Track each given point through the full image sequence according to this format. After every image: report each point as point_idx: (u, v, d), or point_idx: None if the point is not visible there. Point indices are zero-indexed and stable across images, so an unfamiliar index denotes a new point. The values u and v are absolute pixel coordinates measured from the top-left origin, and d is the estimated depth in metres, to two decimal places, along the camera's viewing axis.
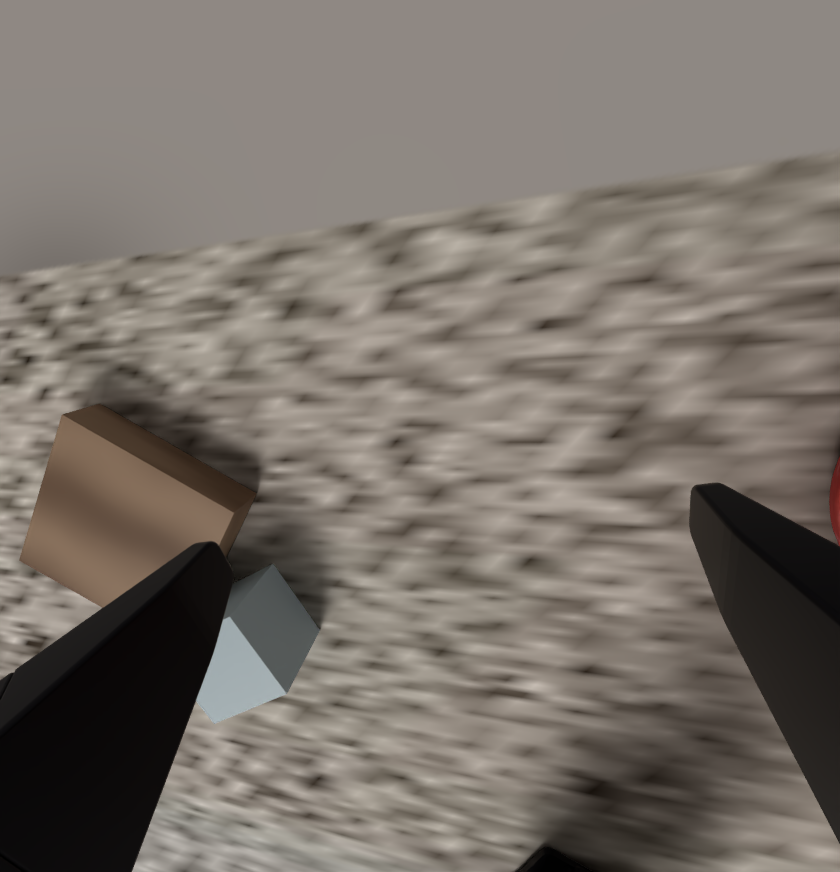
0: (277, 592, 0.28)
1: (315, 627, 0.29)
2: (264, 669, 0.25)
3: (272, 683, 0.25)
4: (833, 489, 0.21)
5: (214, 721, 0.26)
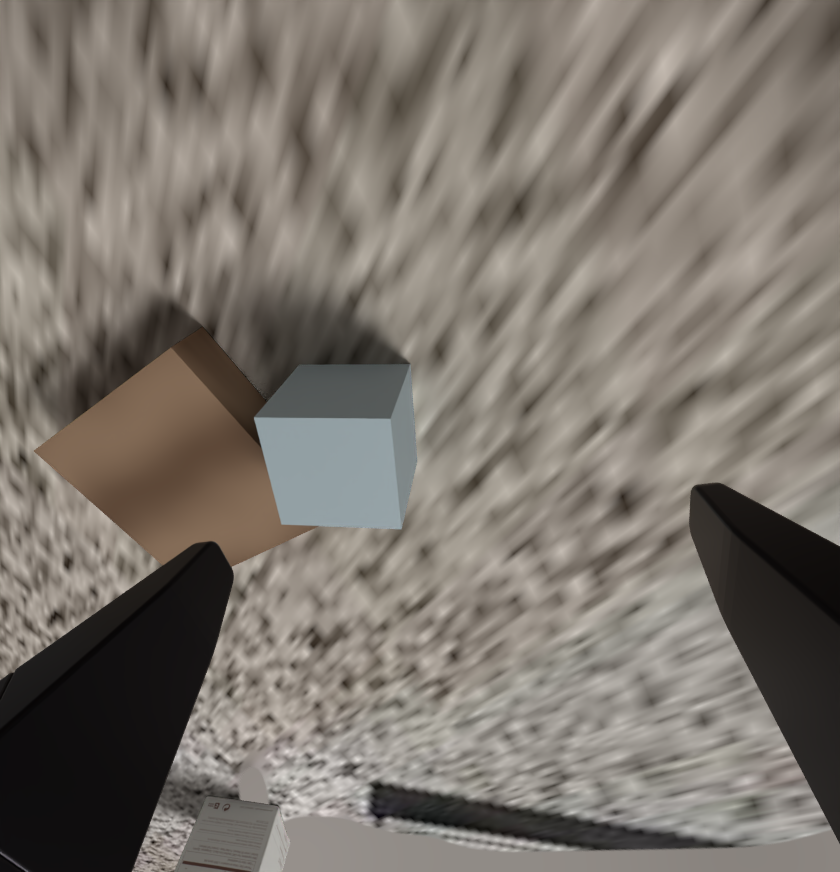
0: (320, 374, 0.21)
1: (401, 365, 0.21)
2: (343, 422, 0.17)
3: (367, 426, 0.17)
4: None
5: (398, 526, 0.20)
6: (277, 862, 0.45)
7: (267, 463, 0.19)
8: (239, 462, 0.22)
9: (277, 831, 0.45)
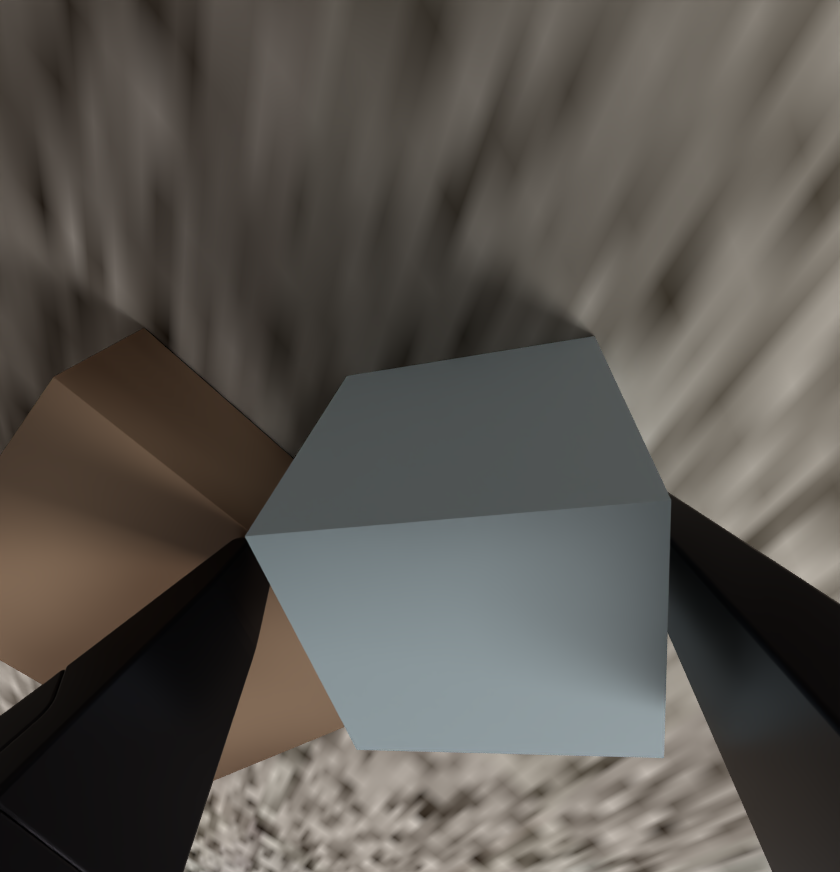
0: (396, 390, 0.09)
1: (575, 343, 0.09)
2: (506, 526, 0.06)
3: (587, 531, 0.05)
4: None
5: (655, 753, 0.07)
6: None
7: (302, 636, 0.07)
8: None
9: None
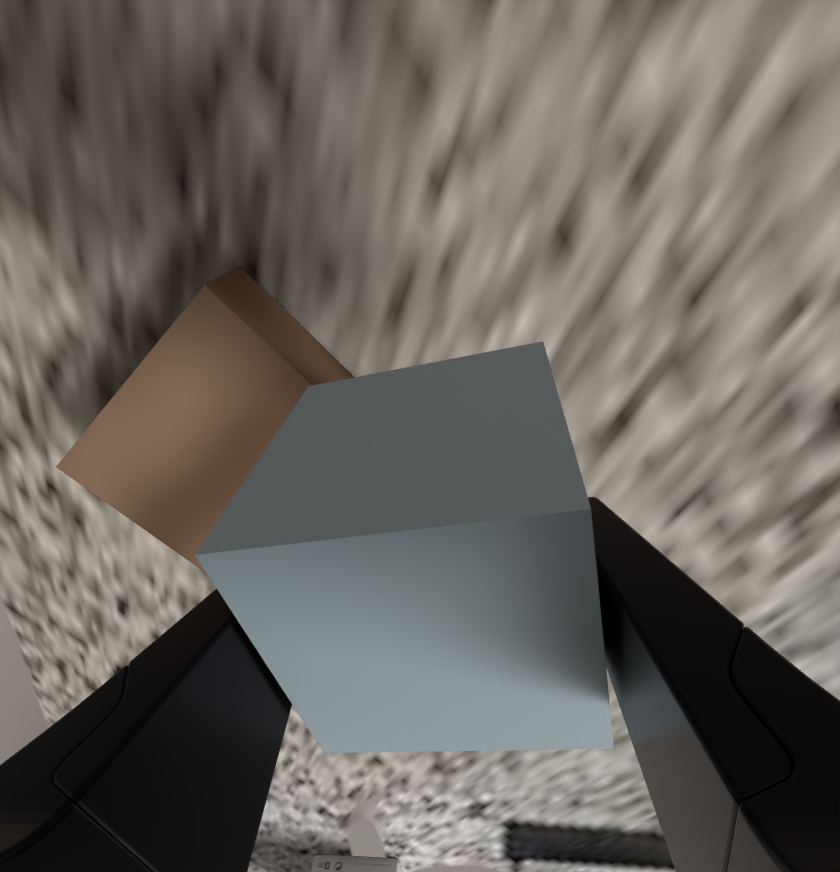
0: (352, 402, 0.09)
1: (525, 350, 0.09)
2: (441, 538, 0.06)
3: (518, 540, 0.06)
4: None
5: (605, 744, 0.08)
6: None
7: (260, 647, 0.07)
8: None
9: None
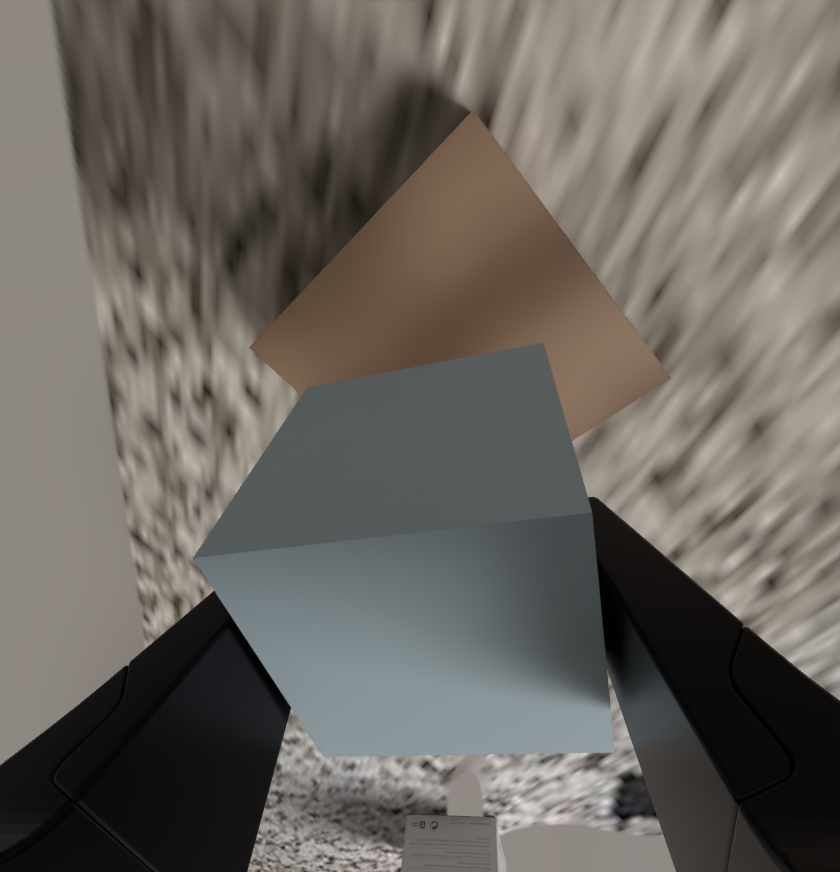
0: (351, 403, 0.09)
1: (525, 351, 0.09)
2: (442, 541, 0.06)
3: (518, 542, 0.06)
4: None
5: (606, 748, 0.08)
6: None
7: (258, 651, 0.07)
8: (549, 301, 0.15)
9: (499, 848, 0.38)
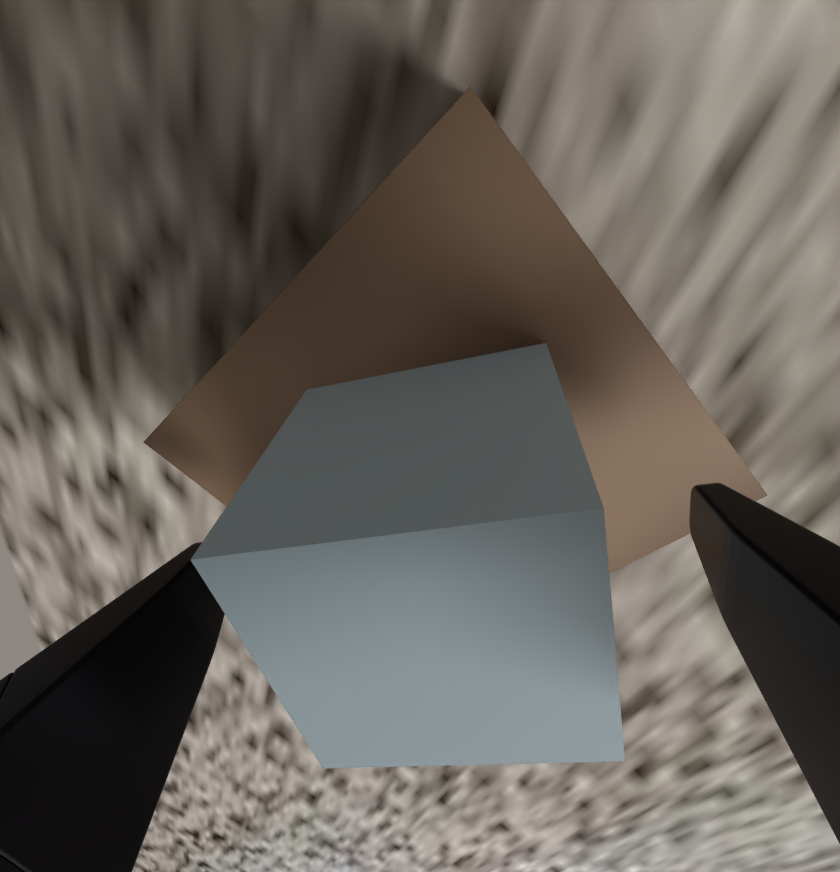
0: (352, 404, 0.09)
1: (528, 351, 0.09)
2: (448, 540, 0.06)
3: (528, 540, 0.06)
4: None
5: (616, 756, 0.08)
6: None
7: (257, 657, 0.07)
8: (589, 386, 0.10)
9: None
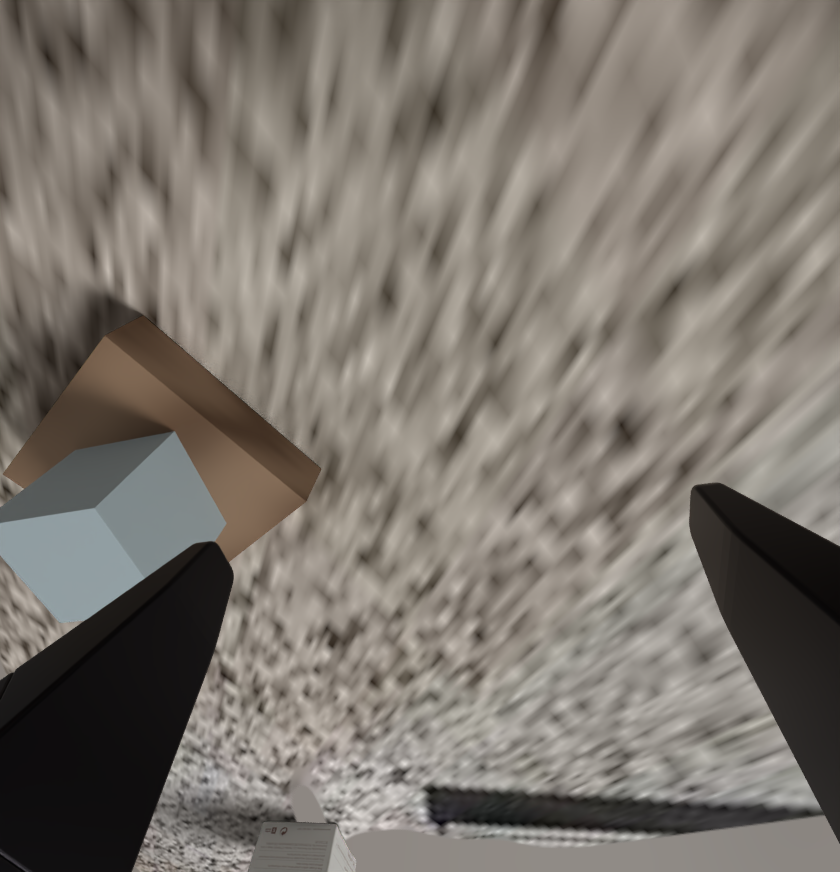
0: (80, 460, 0.20)
1: (163, 436, 0.20)
2: (55, 519, 0.17)
3: (79, 518, 0.16)
4: None
5: None
6: None
7: (12, 567, 0.18)
8: (201, 450, 0.21)
9: (339, 851, 0.43)
